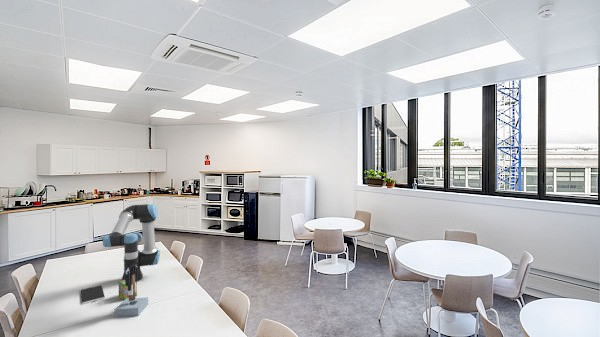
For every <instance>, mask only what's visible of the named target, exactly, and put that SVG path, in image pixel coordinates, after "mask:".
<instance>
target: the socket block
mask: <svg viewBox="0 0 600 337" xmlns="http://www.w3.org/2000/svg"><path fill="white" fill-rule="evenodd" d="M148 306H149V297H135V300H133V301H129V298H128V299H125V300H124V301H123V300H122V302H121V303H120V304H119V305H118V306H117V307H116V308H114V317H115V318H121V317H122V318H123V317H124V318H125V317H139V316H140V315H141V313H142V312H143V311H144V310H145V309H146V308H147V307H148Z"/></svg>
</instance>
